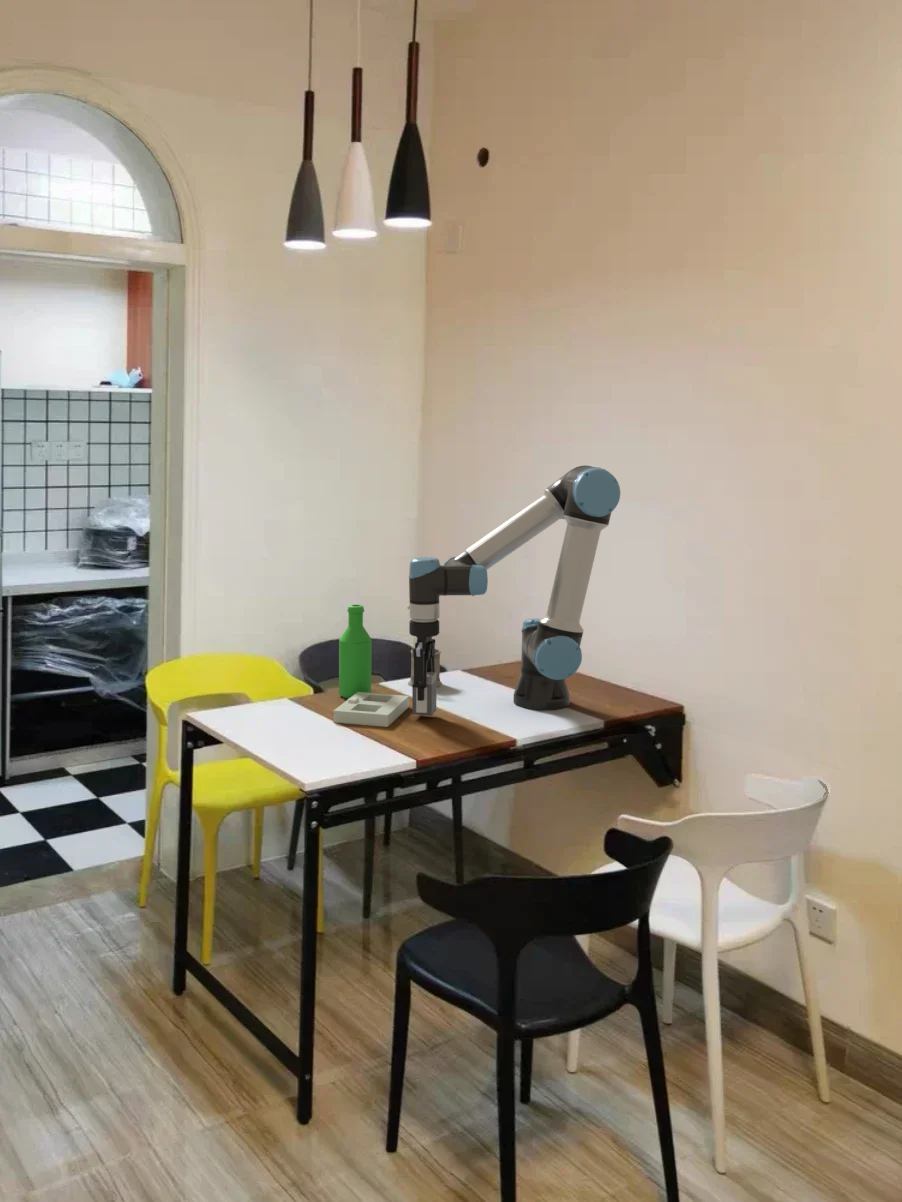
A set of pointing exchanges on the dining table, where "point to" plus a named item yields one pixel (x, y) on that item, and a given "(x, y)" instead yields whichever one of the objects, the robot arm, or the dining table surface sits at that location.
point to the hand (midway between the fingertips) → (424, 709)
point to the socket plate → (371, 709)
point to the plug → (430, 694)
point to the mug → (437, 667)
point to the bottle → (355, 655)
